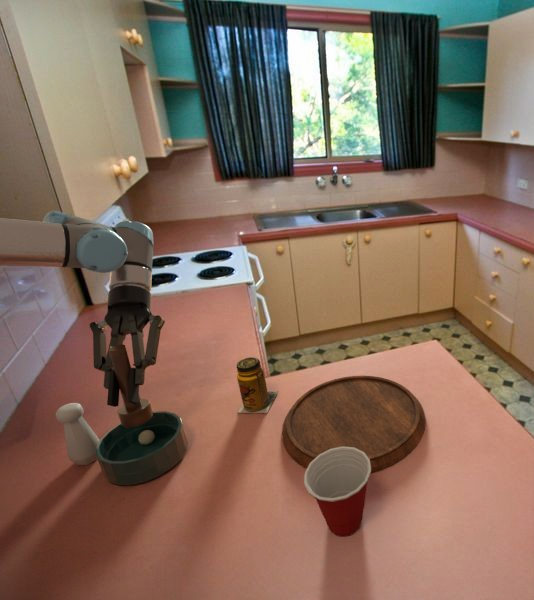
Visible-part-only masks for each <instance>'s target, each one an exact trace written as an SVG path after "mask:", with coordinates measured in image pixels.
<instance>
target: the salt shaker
mask: <svg viewBox="0 0 534 600" xmlns="http://www.w3.org/2000/svg"><path fill="white" fill-rule="evenodd" d="M83 415H84V407H83V406H82V405H81V404H80V403H78V402H70V403H67V404H63V405H62V406H60V407H59V408H58V409H57V410H56V412H55V418H56V420H57V422H59V423H61V424H62V425H63V430H64V438H65V439H64V440H65V445H66V452H67V457H68V459H69V461H71V462H73V463H74V464H75V465H77V466H88V465H90V464H92V463H93V462H96V461H98V459H97V457H96V446H97V444H98V442H99V440H100V438H99V437H98V436H97V434H96V433H95V432H94V430H93V428H92V427H91V426H90V425H89V423H88V422H87V420H86V419H85V418H84V416H83Z"/></svg>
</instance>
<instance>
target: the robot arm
mask: <svg viewBox="0 0 534 600" xmlns="http://www.w3.org/2000/svg"><path fill="white" fill-rule="evenodd" d="M154 250H155V245H154V233H153V230H152V229H151V228H150V226H148V225H147V224H144V223H142V222H140V221H130V220H123V221H119V222H118V223H116V224H115V226H109V225H106V224H103V223H100V222H96V221H94V220H90V219H87V218H84V217H80V216H77V215H74V214H72V213H65V212H62V211H58V210H51V211H48V212H47V213H46V214H45V216H44V217H43V220H42V221H37V220H25V219H14V218H3V217H0V267H1V266H4V267H7V266H8V267H43V268H45V267H48V268H68V269H69V268H71V269H86V270H88V271H90V272H96V273H99V274H100V273H101V274H106V273H109V282H108V289H109V291H108V294H107V312H106V314H105V315H104V318H103V319H102V320H99V321H97V322H95V321H91V322H90V323H89V328H90V330H91V332H92V343H93V344H92V345H93V346H92V350H93V355H92V356H93V368H94V369H96V370H98V371H101V372H103V373H104V377H103V388H104V389H106V390H108V391H107V399H106V400H107V401H106V402H107V403H106V405H107V406H110V407H113V408H115V407H119V404H120V403H119V402H120V388H119V385H118V382H117V378H116V375H115V372H114V368H113V365H112V362H111V358H110V355H109V352H108V351H107V350H108V349H109V348H110V347H112V346H115V345H120V344H123V345H124V341H125V340H126V338H127V335H130V336H131V337H130V338H131V346H132V356H133V363H132V366H133V367H131V368H130V371H129V387H128V402H129V403H132V404H138V398H139V396H140V386H143V385H144V384H145V378H146V377H145V376H146V375H145V374H146V369H147V368H148V367H150V366H155V365H156V364H157V356H158V351H159V345H160V338H161V331H162V329H163V327H164V325H165V323H166V320H165V319H164V318H163V317H162V316H160V315H159V314H158V315H154V314H153V313H152V311H151V304H152V303H151V302H152V293H151V291H152V279H153V260H154V259H153V258H154V257H153V256H154ZM148 324H149V329H148V335H147V341H146V346H145V345H144V336H145V335H144V328H146V326H147V325H148ZM107 326H108V327H109V328H110V329H111V330H110V340H109V344H108V348H107V334H106V332H107V330H108V329H107Z"/></svg>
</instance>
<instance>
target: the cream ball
mask: <svg viewBox="0 0 534 600" xmlns="http://www.w3.org/2000/svg"><path fill="white" fill-rule="evenodd" d="M154 438H155V435H154V433H153V432H152V431H150V430H145V431H143V432H141V433H140V435H139V438H138V440H139V442H140V443H141V444H143V445H148V444H150V443H152V442H153V440H154Z"/></svg>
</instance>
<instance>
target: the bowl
mask: <svg viewBox="0 0 534 600" xmlns="http://www.w3.org/2000/svg"><path fill="white" fill-rule="evenodd" d="M152 412H153V416H152V418H151V419H150V420H149V421H147V422H145V423H144V424H141V425H139V426H135V427H124V426H122V425H121V422H119V423H117V424H116V425H115V426H113V427H112V428H111V429H109V430H108V431H106V432H105V434H103V436H102V437H101V438H99V442H98V444H97V446H96V457H97V461H98V464H99V467H100V469H101V471H102V474H103V476H104V478H105V479H106V480H107V481H108V482H109V483H111V484H114V485H117V486H133V485H137V484H141V483H146V482H148V481H151V480H153V479H155V478H158V477H160V476H162V475H163V474H164V473H167V472H168V471H169V470H171V469H172V468H174V467H175V466H176V465H177V464H178V463H179V462H180V461H181V460H182V459H183V457H184V455H185V454H186V452H187V449H188V445H189V441H188V439H187V435H186V431H185V428H184V425H183V422H182V418H181V417H180V416H179V415H178V414H176V413H175V412H171V411H167V410H155V411H152ZM145 430H150V431H152V432H153V433H154V435H155V438H154V440H153V442H152V443H150V444H148V445H143V444H141V443H140V442H139V440H138V438H139V435H140V433H141V432H143V431H145Z"/></svg>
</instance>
